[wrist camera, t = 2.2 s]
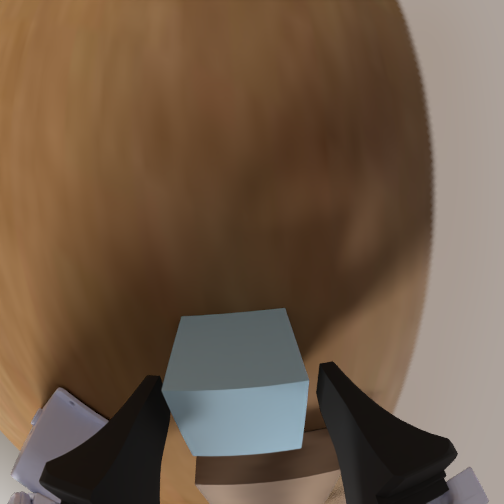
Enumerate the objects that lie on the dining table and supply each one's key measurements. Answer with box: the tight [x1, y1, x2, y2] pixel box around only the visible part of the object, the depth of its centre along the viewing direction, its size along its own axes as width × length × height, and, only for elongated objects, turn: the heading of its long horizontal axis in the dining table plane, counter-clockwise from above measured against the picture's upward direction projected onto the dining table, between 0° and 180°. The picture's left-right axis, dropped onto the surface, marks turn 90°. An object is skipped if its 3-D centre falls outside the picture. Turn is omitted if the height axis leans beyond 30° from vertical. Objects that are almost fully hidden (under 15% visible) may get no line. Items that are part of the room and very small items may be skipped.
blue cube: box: [161, 308, 309, 456], centre depth 11 cm, size 5×5×5 cm
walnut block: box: [195, 428, 341, 504], centre depth 17 cm, size 10×14×4 cm
